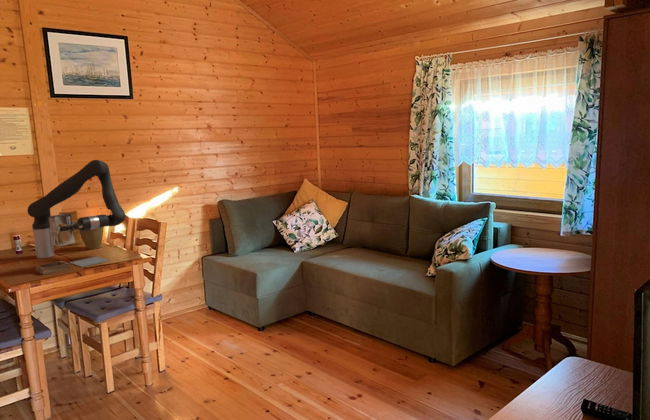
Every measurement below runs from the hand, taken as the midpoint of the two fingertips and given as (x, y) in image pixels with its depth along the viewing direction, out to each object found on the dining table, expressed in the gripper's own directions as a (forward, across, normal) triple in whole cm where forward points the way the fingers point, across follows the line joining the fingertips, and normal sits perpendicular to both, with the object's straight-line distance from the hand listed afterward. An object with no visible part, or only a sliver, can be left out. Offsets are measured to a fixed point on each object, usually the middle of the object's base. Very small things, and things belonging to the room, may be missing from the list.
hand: (57, 228), depth 262 cm
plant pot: (-31, -33, +22) cm, 51 cm away
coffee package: (-28, -59, +22) cm, 69 cm away
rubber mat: (-14, 0, +22) cm, 26 cm away
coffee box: (-2, 0, +9) cm, 9 cm away
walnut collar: (+5, 0, +22) cm, 22 cm away
